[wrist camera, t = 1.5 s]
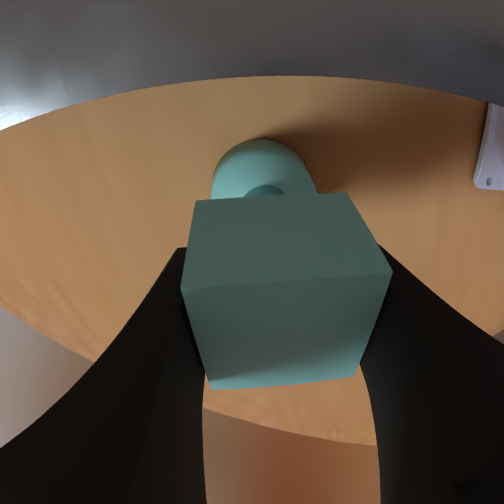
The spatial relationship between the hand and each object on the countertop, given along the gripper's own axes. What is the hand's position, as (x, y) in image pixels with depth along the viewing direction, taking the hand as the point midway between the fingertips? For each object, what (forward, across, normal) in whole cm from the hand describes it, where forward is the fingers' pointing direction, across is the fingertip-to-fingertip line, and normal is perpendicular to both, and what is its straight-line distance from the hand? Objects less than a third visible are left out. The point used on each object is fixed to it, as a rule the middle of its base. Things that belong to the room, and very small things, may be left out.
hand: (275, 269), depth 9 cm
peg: (+5, 0, 0) cm, 5 cm away
